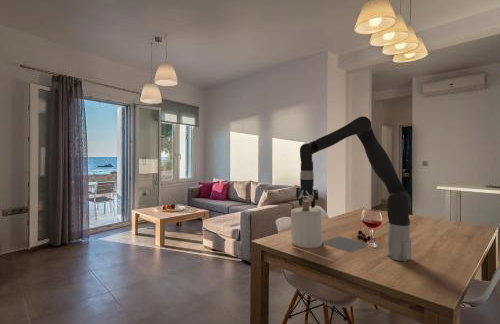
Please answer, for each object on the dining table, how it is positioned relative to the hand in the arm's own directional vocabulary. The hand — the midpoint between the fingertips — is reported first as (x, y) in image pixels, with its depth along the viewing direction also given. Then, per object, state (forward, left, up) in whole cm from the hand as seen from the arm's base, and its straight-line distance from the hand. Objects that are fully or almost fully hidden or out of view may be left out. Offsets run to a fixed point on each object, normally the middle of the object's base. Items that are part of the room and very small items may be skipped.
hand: (306, 206), depth 157 cm
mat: (-15, -15, -22) cm, 30 cm away
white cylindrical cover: (0, 0, -21) cm, 21 cm away
